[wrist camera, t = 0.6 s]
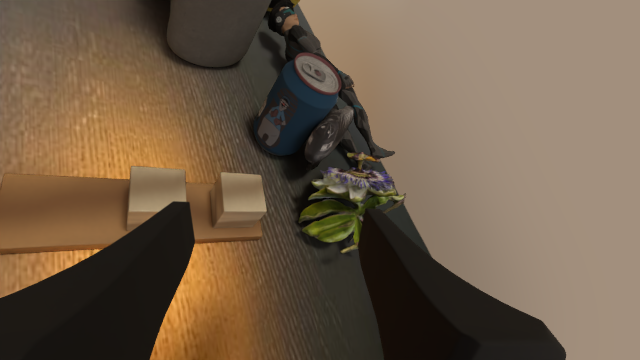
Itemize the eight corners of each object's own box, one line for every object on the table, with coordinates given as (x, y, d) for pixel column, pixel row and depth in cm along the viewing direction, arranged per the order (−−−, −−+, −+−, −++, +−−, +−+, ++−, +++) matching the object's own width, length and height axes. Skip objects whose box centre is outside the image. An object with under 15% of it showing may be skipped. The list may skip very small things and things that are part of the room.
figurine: (393, 151, 39) (279, -27, 42) (343, 184, 44) (244, 21, 47) (413, 143, 48) (318, -2, 51) (370, 170, 53) (286, 36, 56)
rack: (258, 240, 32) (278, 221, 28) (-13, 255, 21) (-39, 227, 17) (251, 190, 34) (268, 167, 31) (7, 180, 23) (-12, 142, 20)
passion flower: (309, 206, 44) (372, 154, 42) (351, 268, 40) (423, 214, 38) (270, 193, 34) (351, 124, 32) (321, 275, 30) (418, 201, 28)
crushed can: (363, 111, 42) (345, 99, 43) (339, 128, 31) (315, 113, 31) (334, 160, 46) (318, 149, 47) (304, 191, 35) (283, 177, 35)
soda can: (300, 131, 43) (347, 70, 35) (293, 167, 39) (344, 107, 31) (256, 110, 41) (295, 38, 32) (243, 146, 37) (284, 74, 28)
